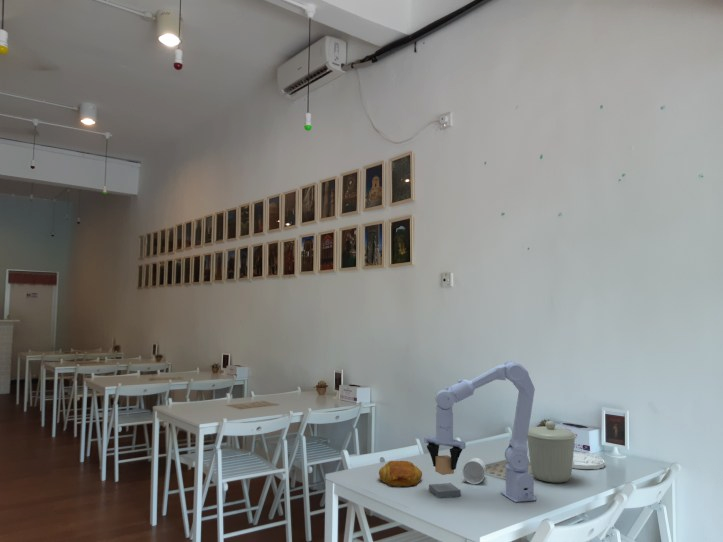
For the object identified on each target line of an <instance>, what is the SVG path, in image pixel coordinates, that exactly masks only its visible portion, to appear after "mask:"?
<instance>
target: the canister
mask: <svg viewBox="0 0 723 542" xmlns="http://www.w3.org/2000/svg"><path fill="white" fill-rule="evenodd" d="M544 425H545V426H533V427H529V430H528V437H527V448H528V455H529V456H528V457H529V463H530V468H531V472H532V475H533V477H534V478H535V479H537V480H540V481H542V482H545V483H546V482H547V483H555V484H556V483H560V484H561V483H565V482H568V481H569V480H570V479H571V476H572V471H573V469H572V464H573V453H574V452H575V441H576V439H577V434H575V433H574V432H572V431H571V430H569V429H567V428H562V427H556V422H554V421H553V420H546V422H545V423H544Z"/></svg>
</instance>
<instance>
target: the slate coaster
mask: <svg viewBox="0 0 723 542" xmlns="http://www.w3.org/2000/svg"><path fill="white" fill-rule="evenodd" d="M428 491H429V492H430V493H431V494H433V495H434V497H436V498H438V499H444V498H456V497H457V498H458V497H461V493H462V492H461V488H460V489H459V487H457V486H455V485H454V484H453V483H451V482H448V483H447V482H445V483H430V484H428Z"/></svg>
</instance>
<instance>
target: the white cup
mask: <svg viewBox="0 0 723 542" xmlns="http://www.w3.org/2000/svg"><path fill="white" fill-rule="evenodd" d="M486 470H487V469H486V464H485V462H484V461H483V460H482V458H479V457H472V458H471V459H469V460H468V461H467V462H465V464H464V465H463V467H462V472H461V473H462V477H463V478H464V480H465V481H466V482H468V483H469V484H471V485H477V484H480V483H481V482H483V480H484V478H485V476H486Z"/></svg>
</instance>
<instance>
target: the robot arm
mask: <svg viewBox="0 0 723 542" xmlns="http://www.w3.org/2000/svg"><path fill="white" fill-rule="evenodd" d="M496 380H498V381H499V380H500V381H507V380H508V381H509V382H511V383H512V385H513V386H514V387H515V388H516V390H518V393H517V394H518V395H517V400H516V407H515V413H514V414H515V415H514V420H513V426H512V434H511V437H510V439H509V442H508V446H507V447H506V449H505V451H504V457H505V458H504V459H505V460H506V461H507V463H506V465H505V490H504V491H500V494H502V495H503V496H504V497H506V498H508V499H510V501H513V502H515V503H517V502H531V501H537V498H536V497H535V493H534V492H535V491H534V490H535V484H534V483H535V482H534V478H533V476H531V474H530V473H529V468H528V466H529V463H530V458H529V456H528V452H529V448H528V439H527V437H528V430H529V429H530V423H531V415H532V410H533V403H534V395H535V385H534V384H533V381H532V379H531V377H530V375H529V371H528V370H527V369H526V367H524V366H523V365H522V364H520V363H517V362H515V361H514V360H513V361H512V360H509V361H508V360H507V361H506V362H504V363H500V364H499V365H497V366H494V367H493V368H491V369H488V370H487V371H485V372H483V373H481V374H480V375H478V376H477V377H474V378H472V379H471V380H468V379H466V378H464V379H461V378H460V379H459V380H457V383H454V384H452V385H451V386H445V389H441V390H439V391H438V392H437V394H436V396H435V397H434V398H435V402H436V407H435V408H436V412H435V436H424V438H423V441H424V444H427V445H426V449H427V450H428V453H429V455H430V458H431V461H432V462H431V463H432V467H435V456H439V450H440V446H445V447H451V448H449V453H450V457H451V470H454V471H455V470H456V469H457V464H458V460H459V458H460V456H461V454H462V452H463V450H464V449H466V447H467V446H466V443H467V442H465V441H461V440H457V439H454V412H453V406H454V404H458V403H459V402H461V401H464V400H465V399H467V398H469V397H471V396H473V395H474V392H475V390H476V389H478V388H480V387H483V386H486V385H487V384H489V383H491V382H493V381H496Z"/></svg>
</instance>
